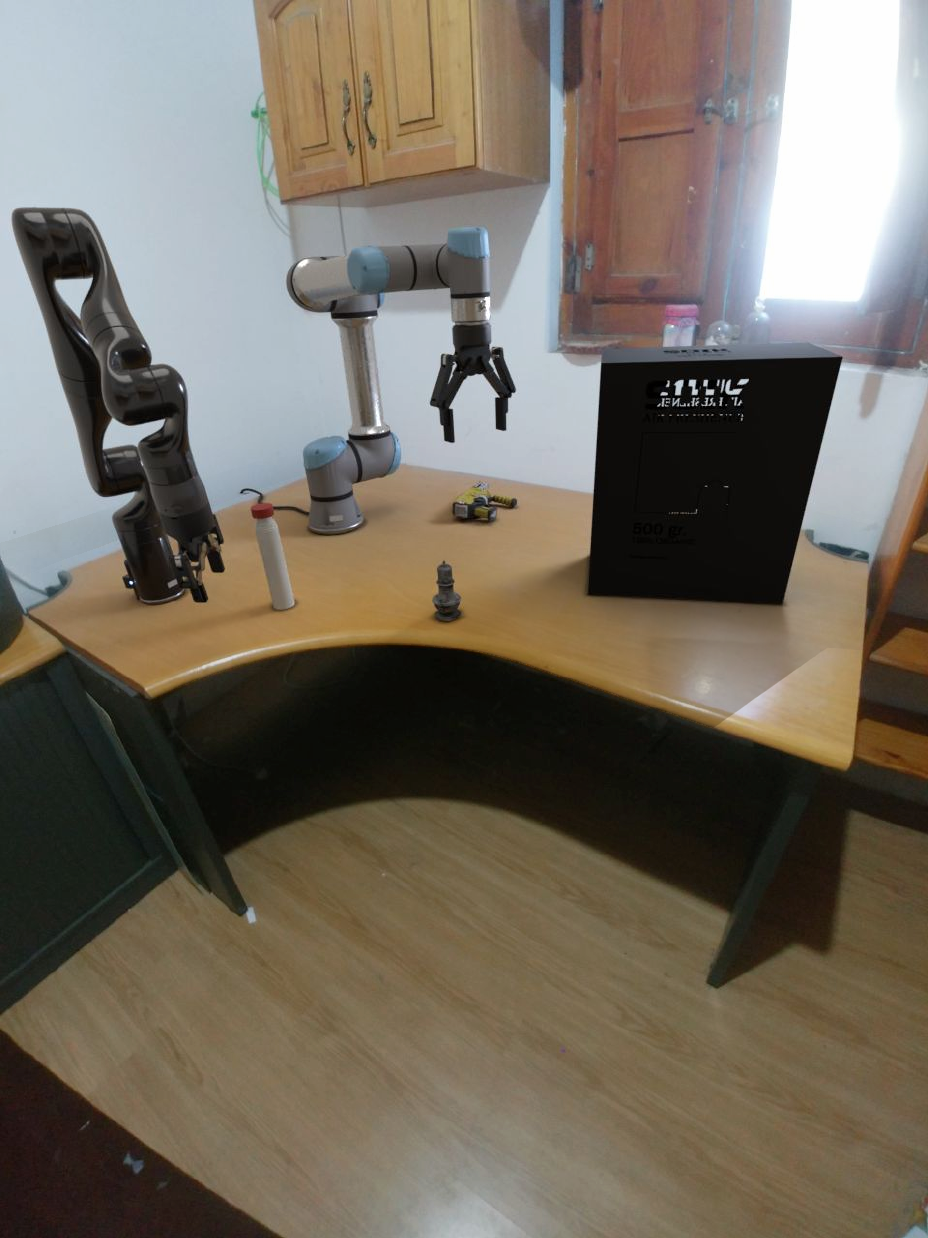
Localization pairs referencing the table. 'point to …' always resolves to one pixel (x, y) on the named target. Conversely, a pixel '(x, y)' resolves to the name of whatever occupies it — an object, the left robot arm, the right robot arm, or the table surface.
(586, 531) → the table surface
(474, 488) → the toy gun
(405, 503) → the table surface
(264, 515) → the cap
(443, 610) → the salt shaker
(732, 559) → the cardboard box
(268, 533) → the bottle
